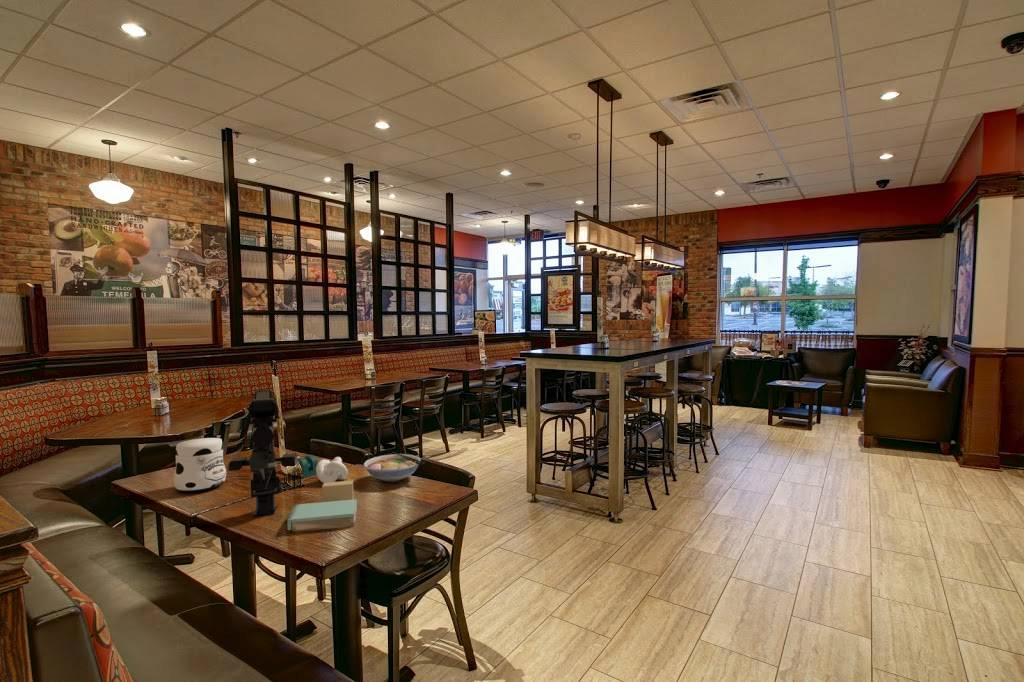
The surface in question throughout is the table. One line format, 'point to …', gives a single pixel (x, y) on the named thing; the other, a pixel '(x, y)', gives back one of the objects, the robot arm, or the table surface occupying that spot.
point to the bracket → (308, 465)
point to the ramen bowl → (392, 466)
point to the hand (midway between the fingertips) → (264, 489)
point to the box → (324, 523)
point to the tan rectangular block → (337, 491)
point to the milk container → (199, 465)
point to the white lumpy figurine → (331, 470)
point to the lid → (322, 511)
